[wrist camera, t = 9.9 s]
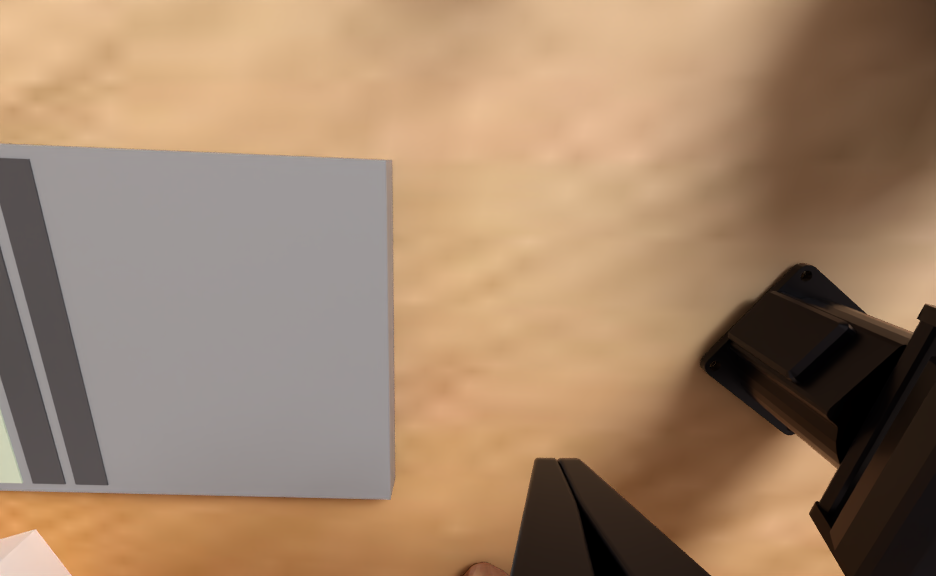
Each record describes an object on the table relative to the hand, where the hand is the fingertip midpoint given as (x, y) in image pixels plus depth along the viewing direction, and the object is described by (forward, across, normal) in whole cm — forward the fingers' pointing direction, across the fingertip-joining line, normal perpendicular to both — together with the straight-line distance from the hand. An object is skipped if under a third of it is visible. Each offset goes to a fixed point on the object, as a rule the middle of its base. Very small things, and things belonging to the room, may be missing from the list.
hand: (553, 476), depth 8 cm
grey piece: (+12, +18, +2) cm, 22 cm away
